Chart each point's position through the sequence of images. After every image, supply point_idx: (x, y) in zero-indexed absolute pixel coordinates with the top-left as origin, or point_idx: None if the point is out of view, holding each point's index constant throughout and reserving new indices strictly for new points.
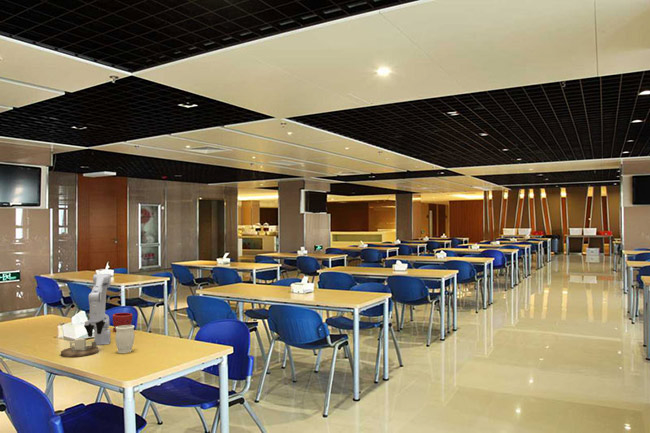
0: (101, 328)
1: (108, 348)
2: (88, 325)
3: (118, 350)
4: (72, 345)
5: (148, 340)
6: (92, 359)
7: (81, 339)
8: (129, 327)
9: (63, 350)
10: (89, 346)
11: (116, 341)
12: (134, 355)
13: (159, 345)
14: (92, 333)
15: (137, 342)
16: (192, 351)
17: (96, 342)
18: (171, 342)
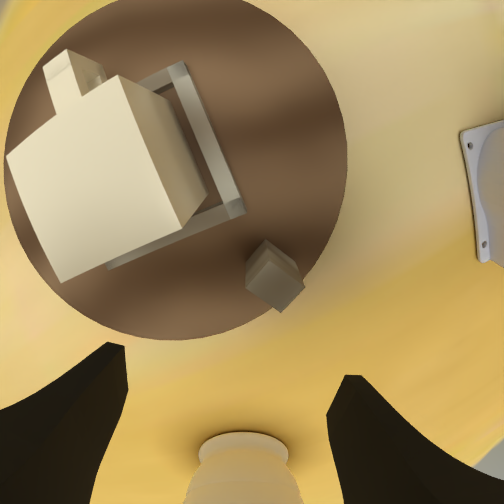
0: (345, 498)
1: (345, 335)
2: None
3: (211, 451)
4: (98, 84)
5: (485, 414)
6: (41, 362)
7: (49, 242)
8: None
9: (113, 12)
10: (314, 182)
11: (189, 500)
12: (181, 489)
13: None
14: (111, 435)
15: (467, 399)
16: None
17: (486, 162)
18: None
